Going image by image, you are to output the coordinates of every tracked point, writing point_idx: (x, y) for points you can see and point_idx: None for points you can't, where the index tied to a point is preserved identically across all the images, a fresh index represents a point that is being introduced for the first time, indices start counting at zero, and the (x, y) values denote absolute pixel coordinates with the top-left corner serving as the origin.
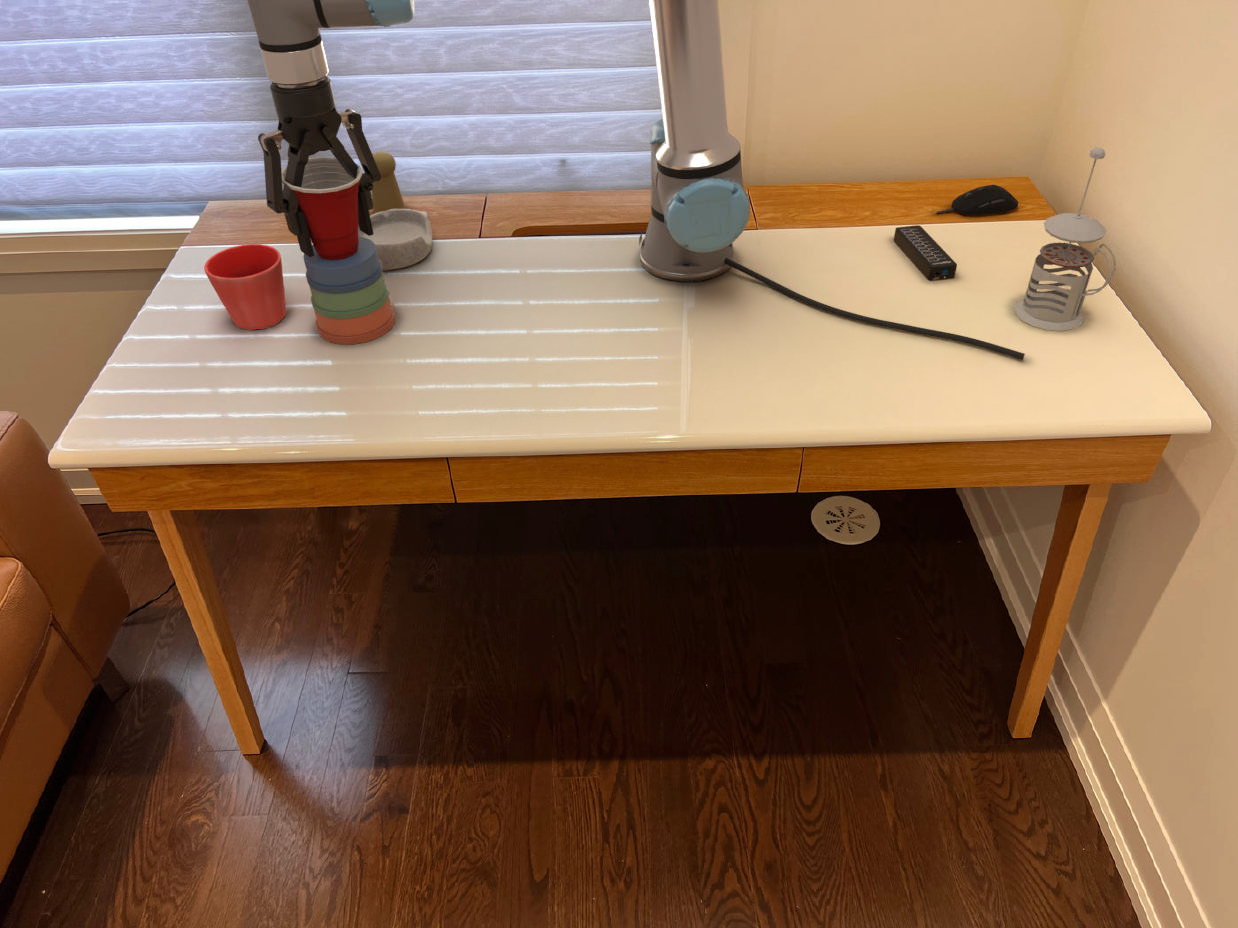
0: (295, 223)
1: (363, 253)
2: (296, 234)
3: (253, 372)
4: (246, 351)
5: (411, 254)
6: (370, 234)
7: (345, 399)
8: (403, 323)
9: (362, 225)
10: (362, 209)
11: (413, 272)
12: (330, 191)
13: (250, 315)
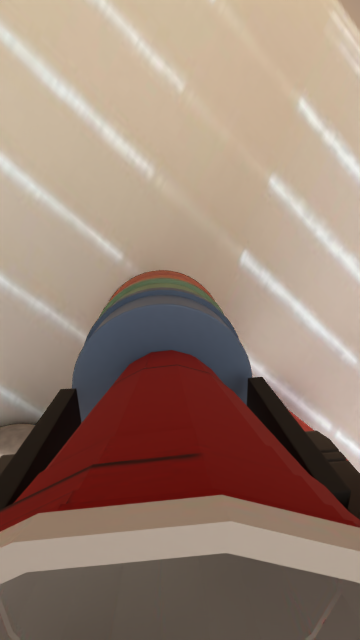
0: (332, 464)
1: (121, 345)
2: (312, 433)
3: (329, 306)
4: (308, 360)
5: (6, 433)
6: (69, 390)
7: (279, 141)
8: (104, 283)
9: (72, 429)
10: (41, 456)
11: (25, 407)
12: (285, 518)
13: (288, 410)
